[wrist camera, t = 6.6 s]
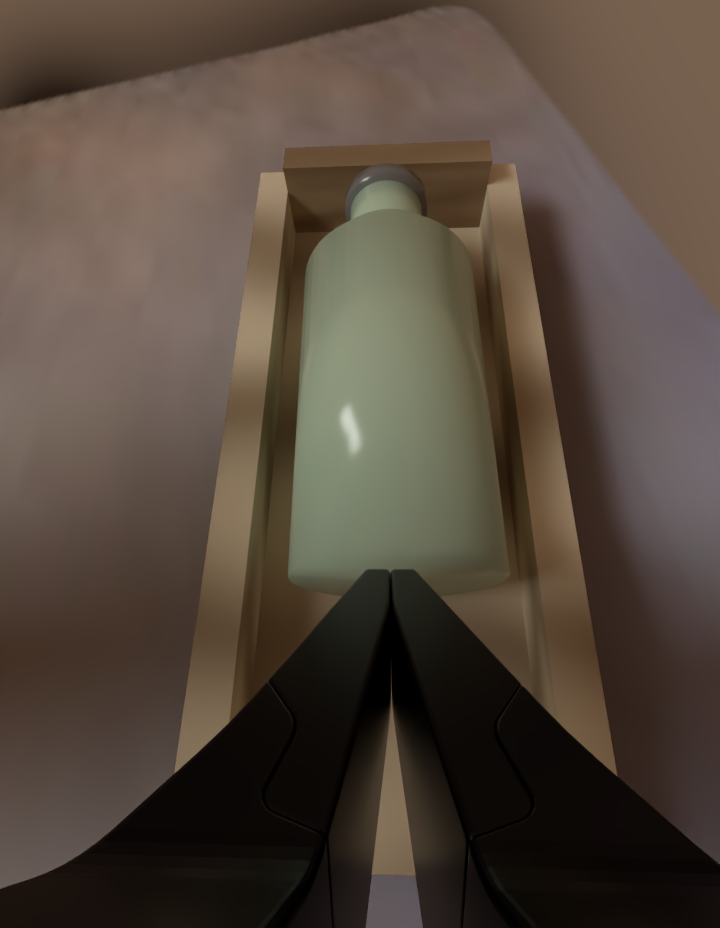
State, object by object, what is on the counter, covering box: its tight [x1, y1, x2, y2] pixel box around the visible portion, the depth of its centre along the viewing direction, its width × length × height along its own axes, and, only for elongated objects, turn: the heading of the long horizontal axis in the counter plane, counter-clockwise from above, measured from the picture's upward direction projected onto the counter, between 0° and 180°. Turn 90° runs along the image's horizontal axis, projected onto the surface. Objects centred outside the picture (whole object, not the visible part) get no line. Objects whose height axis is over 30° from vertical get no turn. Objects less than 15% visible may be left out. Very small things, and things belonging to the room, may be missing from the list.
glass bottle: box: [288, 163, 510, 596], centre depth 16 cm, size 6×6×14 cm
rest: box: [174, 141, 617, 876], centre depth 17 cm, size 24×10×4 cm, turn 179°
